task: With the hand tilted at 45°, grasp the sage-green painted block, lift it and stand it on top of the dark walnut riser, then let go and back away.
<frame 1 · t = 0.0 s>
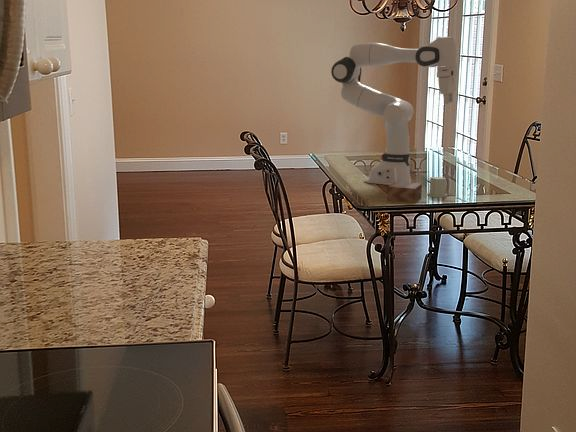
hand: (448, 103, 325), 39 cm above the table, tool pointing down, fingers open, 8 cm apart
sage block: (437, 195, 309), on the table
walnut riser: (404, 198, 304), on the table
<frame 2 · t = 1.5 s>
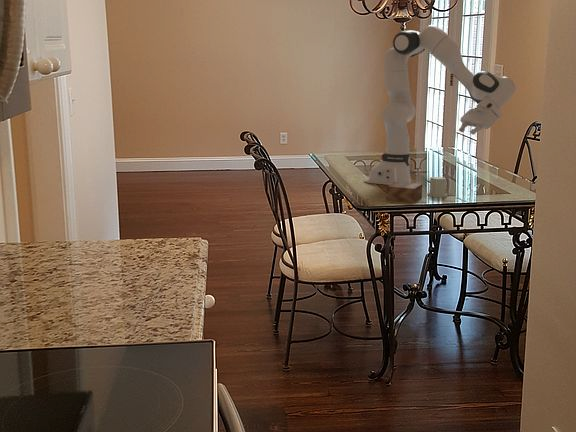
hand: (466, 132, 307), 27 cm above the table, tool tilted 45°, fingers open, 8 cm apart
nothing on the table moved.
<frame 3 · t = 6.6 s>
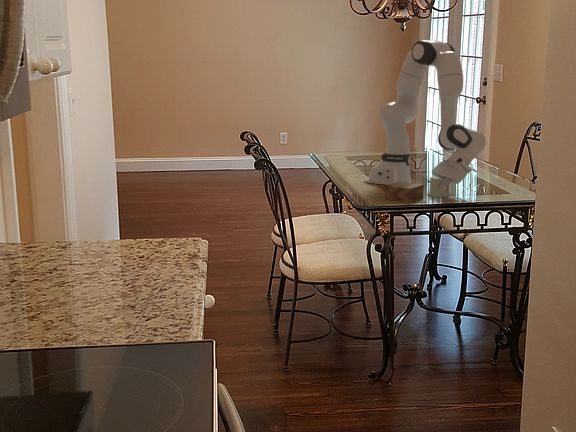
hand: (436, 185, 308), 4 cm above the table, tool tilted 45°, fingers closed on sage block, 5 cm apart
sage block: (437, 195, 309), on the table, touching gripper
when the fingers open (11 cm above the table, at t = 12.9 s): sage block drops 1 cm, point 6 cm above the table.
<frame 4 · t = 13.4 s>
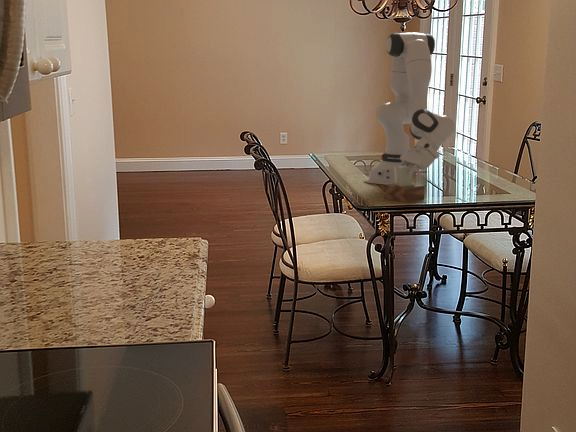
hand: (403, 172, 301), 11 cm above the table, tool tilted 45°, fingers open, 8 cm apart
sage block: (404, 185, 303), point 6 cm above the table
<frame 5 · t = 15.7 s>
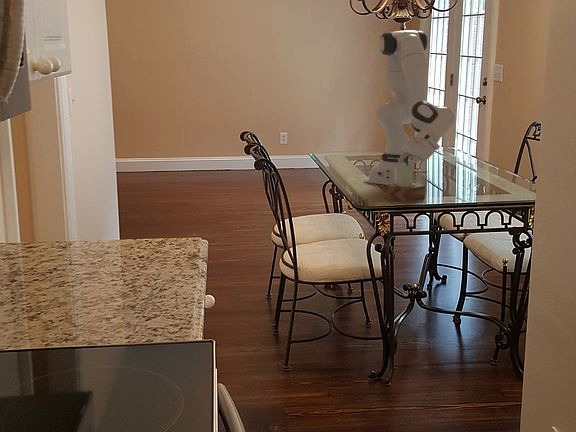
hand: (404, 163, 301), 15 cm above the table, tool tilted 45°, fingers open, 8 cm apart
sage block: (404, 185, 303), point 6 cm above the table, touching walnut riser
walnut riser: (404, 199, 304), on the table, touching sage block
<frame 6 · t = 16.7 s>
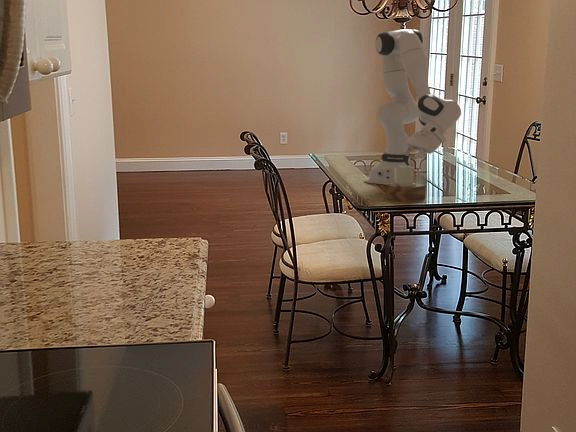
hand: (410, 156, 301), 18 cm above the table, tool tilted 45°, fingers open, 8 cm apart
sage block: (405, 185, 303), point 6 cm above the table
walnut riser: (405, 198, 304), on the table
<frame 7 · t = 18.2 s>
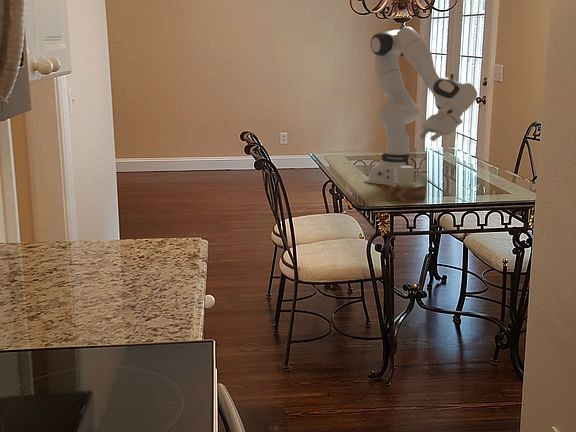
hand: (426, 138, 301), 25 cm above the table, tool tilted 45°, fingers open, 8 cm apart
sage block: (405, 185, 303), point 6 cm above the table, touching walnut riser
walnut riser: (405, 198, 304), on the table, touching sage block
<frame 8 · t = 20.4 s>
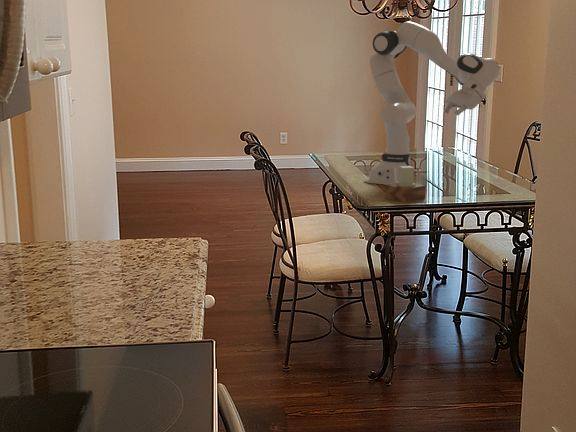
hand: (450, 113, 307), 35 cm above the table, tool tilted 45°, fingers open, 8 cm apart
nothing on the table moved.
at the end: sage block inside the target area on the walnut riser (0.1 cm from its centre), point 6.0 cm above the walnut riser's base; sage block tilted 0°; the gripper is holding nothing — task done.
